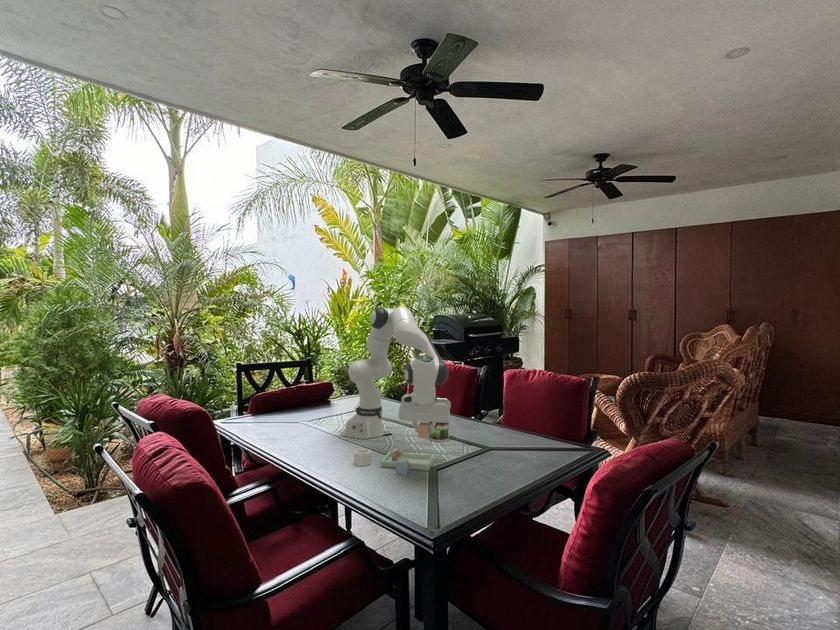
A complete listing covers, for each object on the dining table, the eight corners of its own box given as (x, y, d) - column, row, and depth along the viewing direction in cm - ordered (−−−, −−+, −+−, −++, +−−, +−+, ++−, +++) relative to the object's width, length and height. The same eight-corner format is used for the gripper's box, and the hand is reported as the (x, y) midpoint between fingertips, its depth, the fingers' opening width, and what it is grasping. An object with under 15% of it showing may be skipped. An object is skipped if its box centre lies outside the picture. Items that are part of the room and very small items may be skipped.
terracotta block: (418, 437, 170) (418, 425, 170) (420, 434, 174) (420, 422, 174) (428, 438, 169) (428, 425, 169) (430, 435, 173) (430, 422, 173)
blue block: (396, 474, 172) (396, 462, 172) (398, 470, 176) (398, 458, 176) (406, 475, 171) (406, 462, 171) (408, 471, 175) (408, 459, 175)
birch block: (391, 463, 183) (391, 451, 183) (394, 459, 187) (394, 448, 187) (401, 463, 182) (401, 452, 182) (403, 460, 186) (403, 448, 186)
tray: (381, 467, 180) (381, 461, 180) (389, 457, 191) (389, 451, 191) (429, 471, 176) (429, 464, 175) (434, 460, 187) (434, 454, 187)
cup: (352, 465, 182) (352, 453, 182) (358, 459, 188) (358, 448, 188) (367, 466, 180) (367, 454, 180) (372, 461, 187) (372, 449, 187)
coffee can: (444, 442, 212) (444, 413, 212) (425, 439, 217) (425, 411, 217) (452, 437, 221) (452, 409, 221) (434, 434, 226) (434, 407, 226)
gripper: (451, 396, 172) (451, 431, 173) (401, 394, 176) (401, 428, 177) (449, 400, 166) (449, 436, 166) (397, 397, 170) (397, 433, 171)
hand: (424, 432), depth 172 cm, fingers closed on terracotta block, 4 cm apart
